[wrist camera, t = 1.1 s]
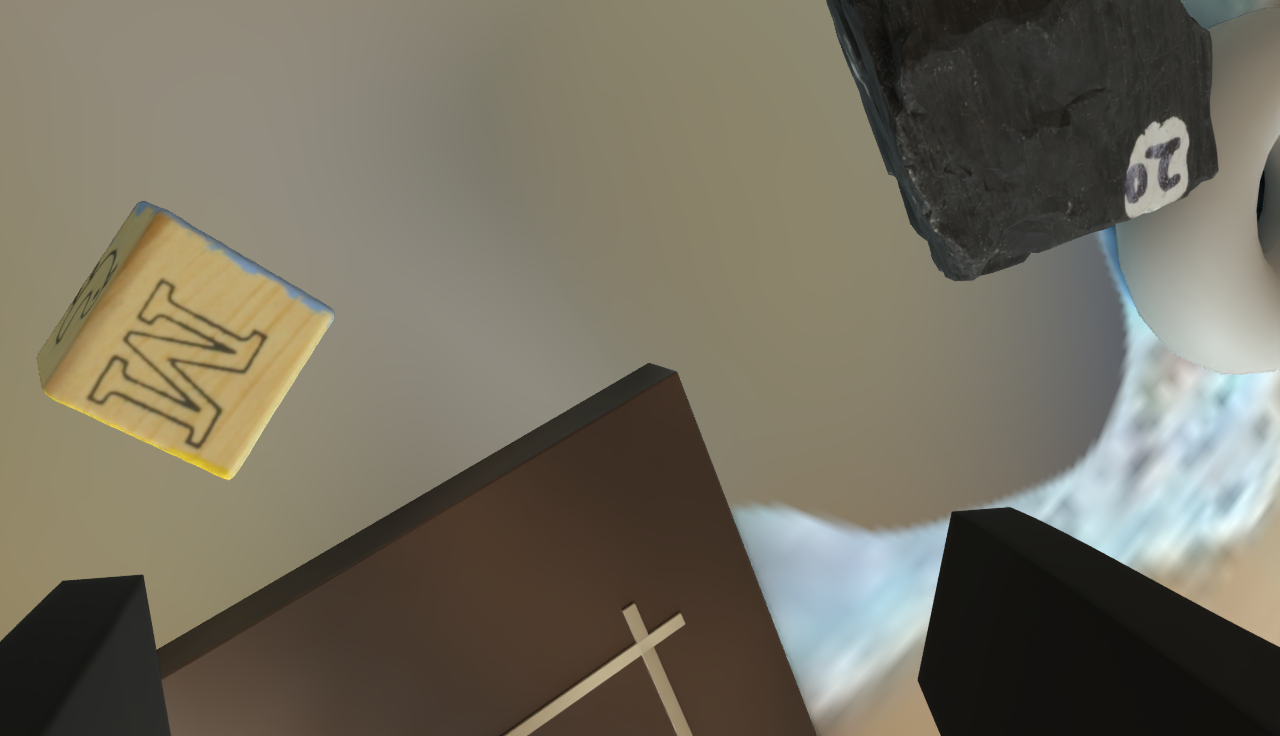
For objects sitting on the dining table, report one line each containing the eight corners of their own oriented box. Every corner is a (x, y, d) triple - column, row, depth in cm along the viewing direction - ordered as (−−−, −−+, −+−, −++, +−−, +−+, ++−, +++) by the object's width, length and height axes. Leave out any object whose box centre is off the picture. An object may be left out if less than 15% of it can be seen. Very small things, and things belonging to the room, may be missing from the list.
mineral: (1047, -188, 26) (1287, -269, 21) (1098, 173, 29) (1318, 177, 24) (705, -93, 22) (901, -165, 17) (803, 314, 25) (995, 353, 20)
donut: (1127, 426, 32) (1329, 268, 35) (1239, 454, 29) (1448, 278, 32) (1047, 102, 28) (1280, -39, 32) (1166, 96, 25) (1409, -60, 29)
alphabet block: (300, 293, 20) (343, 312, 17) (206, 444, 19) (234, 487, 17) (138, 197, 18) (158, 201, 15) (32, 359, 18) (34, 392, 15)
